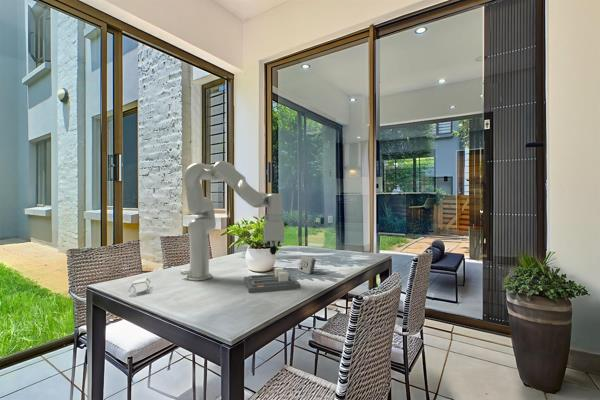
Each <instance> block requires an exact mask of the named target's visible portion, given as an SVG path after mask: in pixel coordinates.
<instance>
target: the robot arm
mask: <svg viewBox="0 0 600 400" xmlns="http://www.w3.org/2000/svg"><path fill="white" fill-rule="evenodd" d="M201 180H202V181H216V180H222V181H223V182H224V183H225V184H227V185H228V186H229V187H230V188H232V189H233V191H234V192H235V193H236V194H237V196H239V198H241V199H242V200H243V201H244V202H246V203H247V204H249V206H251V207H252V208H256V209H259V208H266V215H263V218H264V219H265V221H264V226H263V235H262V236H263V237H262V238H263V239H262V243H263V244H268V245H269V253H270V255H272V256H273V255H274V256H275V255H276V253H277V248H278V246H279V244H282V243H284V242H285V223H284V220H283V219H282V218H283V216H282V215H283V195H282V194H281V193H266V192H258V191H257V190H256V189H254V188H253V187H252V186H251V185H250V184H249V183H248V182H247V180H246V177H245V176H244V175H243V174H242V173H241V172H239V171H238V170H237V169H236V167H235V166H234V164H233V163H231V162H228V161H224V160H219V161H217V162H215V164H206V163H202V162H196V163H192V164H190V165H189V166H188V167H187V168H186V169H185V172H184V175H183V182H184V187H185V196H186V202H187V210H188V212H189V213H190V214H191V215H192V216H197V217H196V218H193V219H192V220H190V222H189V223H188V225H187V233H188V238H189V269H187V270H180V275H182V276H186V279H187V280H188V281H206V280H209V279H211V278H212V277H213V275H212V273H210V247H209V246H210V244H209V243H210V241H209V238H208V235H209V234H211V233H212V232H214V231H215V229H216V222H217V221H216V216H215V215H216V214H215V208H214V204H213V202H212V200H211V199H210V198H209V197H205V195H204V188H203V186H202V183H201Z"/></svg>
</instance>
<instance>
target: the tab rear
mask: <svg viewBox="0 0 600 400" xmlns="http://www.w3.org/2000/svg"><path fill="white" fill-rule="evenodd" d="M278 272H285V268H284V267H283V266H282V267H274V274H275V277H278Z"/></svg>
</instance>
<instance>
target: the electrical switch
mask: <svg viewBox="0 0 600 400" xmlns="http://www.w3.org/2000/svg"><path fill="white" fill-rule="evenodd" d="M316 261H317V260H316V259H314V257H312V256H307V255H302V254H301V256H300V260H299V266H298V272H300V273H303V274H307V275H310V274H313V273H314V270H315V265H316Z"/></svg>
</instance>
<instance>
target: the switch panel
mask: <svg viewBox="0 0 600 400" xmlns="http://www.w3.org/2000/svg"><path fill="white" fill-rule="evenodd" d="M243 281H244V284H245V286H246V289H247V291H248V293H252V294H253V293H262V292H274V291H285V290H297V288H299V289H301V283H300V282H299V281H298V280H297V279H296V278H295V277H294V276H293V275H292V274H291V273H288V281H281V282H279V281H278V277H275V273H270V274H269V273H268V274H258V275H256V274H255V275H253V274H252V275H248V276H243Z"/></svg>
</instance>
